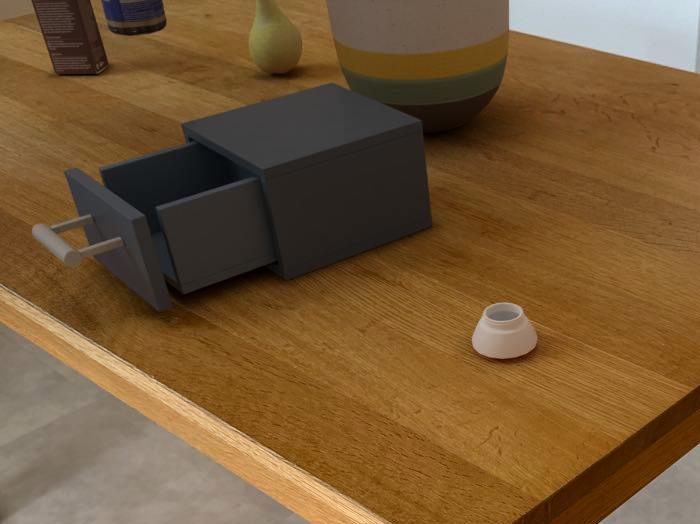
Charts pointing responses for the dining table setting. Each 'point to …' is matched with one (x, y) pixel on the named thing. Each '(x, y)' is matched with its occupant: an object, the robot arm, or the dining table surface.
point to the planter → (423, 54)
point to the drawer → (168, 221)
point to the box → (71, 36)
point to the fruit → (274, 39)
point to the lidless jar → (504, 332)
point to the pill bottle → (134, 16)
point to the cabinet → (326, 172)
